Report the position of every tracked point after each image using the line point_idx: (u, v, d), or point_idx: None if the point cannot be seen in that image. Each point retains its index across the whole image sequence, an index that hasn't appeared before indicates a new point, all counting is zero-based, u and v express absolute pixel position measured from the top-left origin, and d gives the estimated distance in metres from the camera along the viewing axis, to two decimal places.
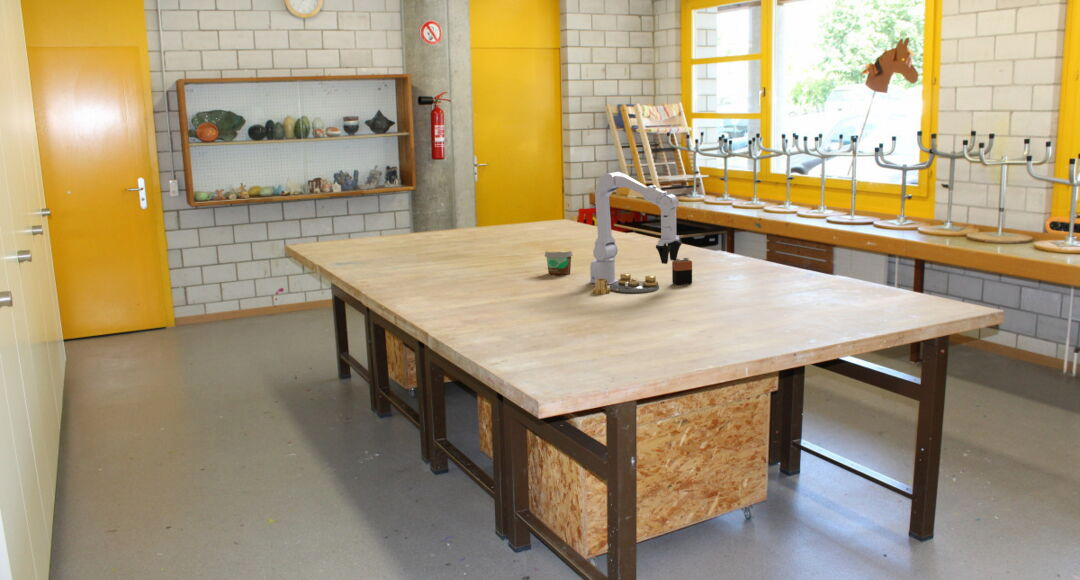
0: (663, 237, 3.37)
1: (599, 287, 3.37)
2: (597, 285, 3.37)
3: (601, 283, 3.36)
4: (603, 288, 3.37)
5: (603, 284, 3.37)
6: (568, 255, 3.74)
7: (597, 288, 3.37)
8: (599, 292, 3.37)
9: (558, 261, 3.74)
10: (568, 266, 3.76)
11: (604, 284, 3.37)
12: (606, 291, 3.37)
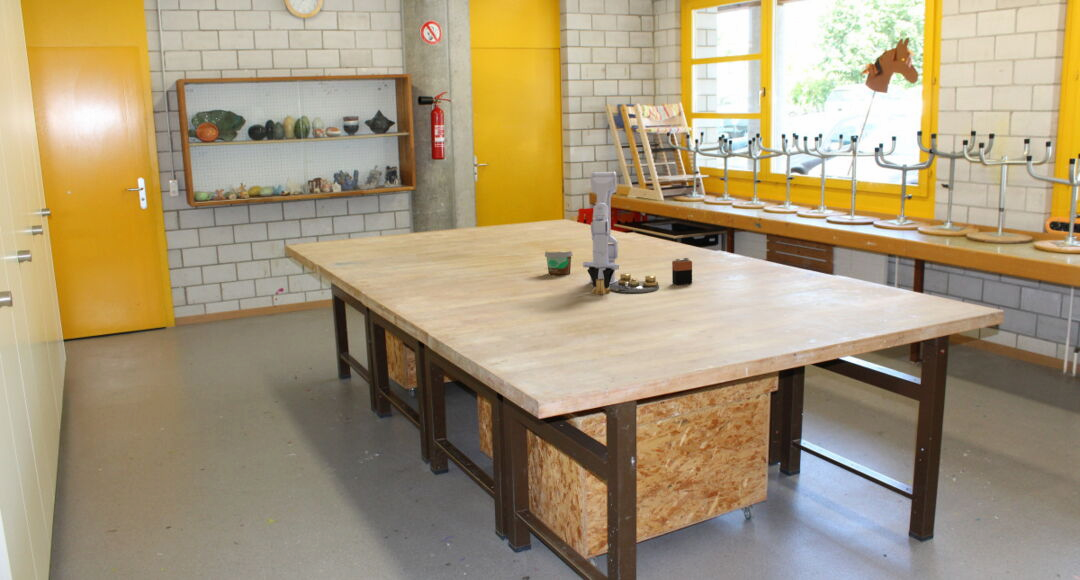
0: None
1: (599, 287, 3.37)
2: (597, 285, 3.37)
3: (601, 283, 3.36)
4: (603, 288, 3.37)
5: (603, 284, 3.37)
6: (568, 255, 3.74)
7: (597, 288, 3.37)
8: (599, 292, 3.37)
9: (558, 261, 3.74)
10: (568, 266, 3.76)
11: None
12: (606, 291, 3.37)
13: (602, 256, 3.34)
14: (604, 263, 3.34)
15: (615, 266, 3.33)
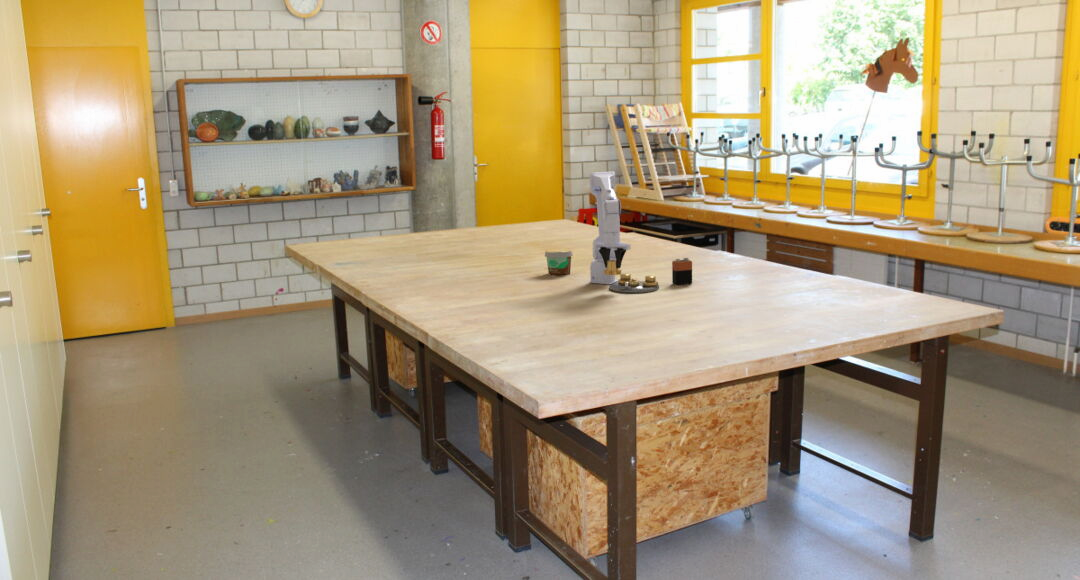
0: None
1: (610, 268, 3.35)
2: (608, 266, 3.36)
3: (612, 264, 3.35)
4: (614, 269, 3.35)
5: (614, 265, 3.35)
6: (568, 255, 3.74)
7: (608, 269, 3.36)
8: (610, 273, 3.35)
9: (558, 261, 3.74)
10: (568, 266, 3.76)
11: (615, 265, 3.35)
12: (617, 272, 3.35)
13: (613, 236, 3.32)
14: (616, 243, 3.33)
15: (627, 246, 3.31)
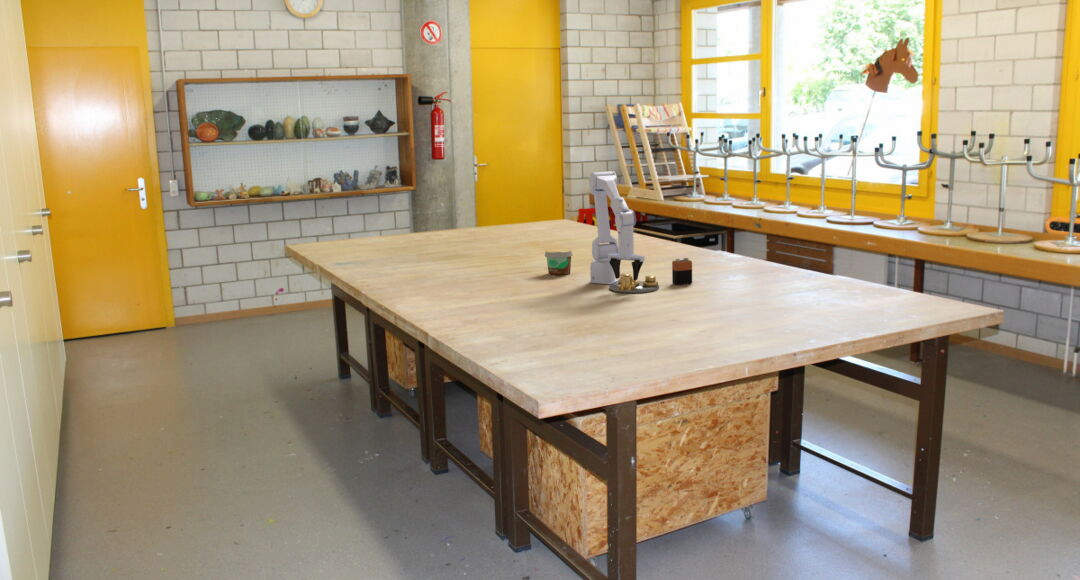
0: None
1: (624, 284, 3.36)
2: (622, 282, 3.37)
3: (626, 280, 3.36)
4: (628, 285, 3.36)
5: (628, 281, 3.36)
6: (568, 255, 3.74)
7: (622, 285, 3.37)
8: (624, 289, 3.36)
9: (558, 261, 3.74)
10: (568, 266, 3.76)
11: (629, 281, 3.36)
12: (631, 288, 3.36)
13: (627, 248, 3.33)
14: (629, 255, 3.34)
15: (641, 258, 3.32)
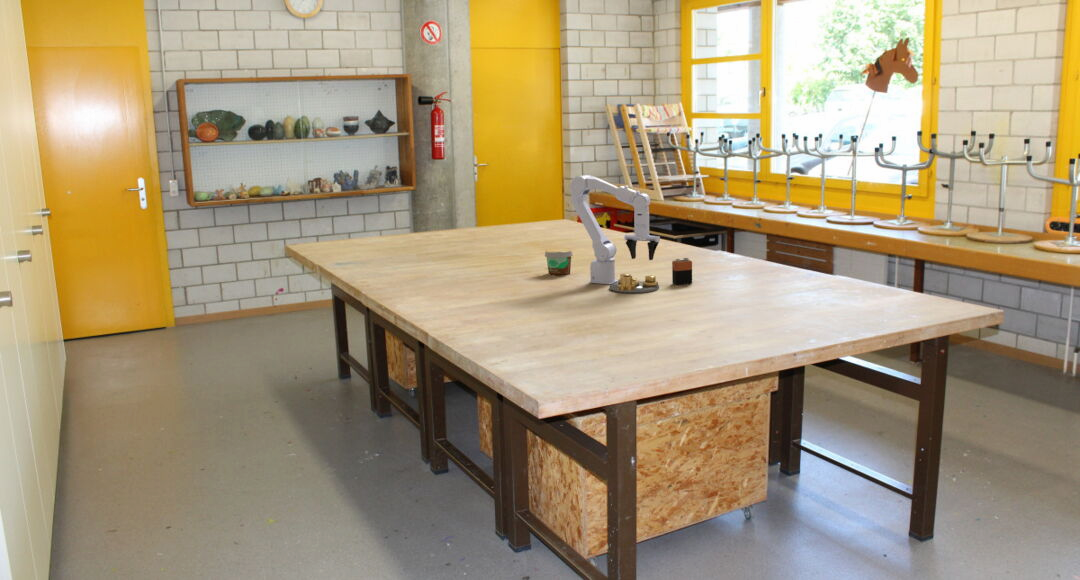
0: None
1: (624, 284, 3.36)
2: (622, 282, 3.37)
3: (626, 280, 3.36)
4: (628, 285, 3.36)
5: (628, 281, 3.36)
6: (568, 255, 3.74)
7: (622, 285, 3.37)
8: (624, 289, 3.36)
9: (558, 261, 3.74)
10: (568, 266, 3.76)
11: (629, 281, 3.36)
12: (631, 288, 3.36)
13: (643, 229, 3.45)
14: (645, 235, 3.46)
15: (656, 238, 3.44)
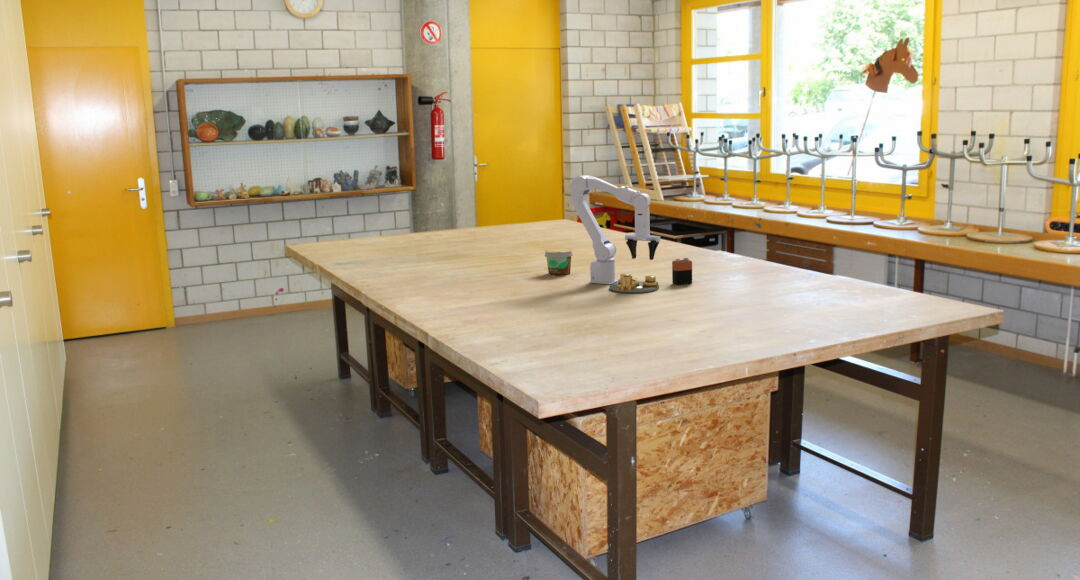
0: None
1: (624, 284, 3.36)
2: (622, 282, 3.37)
3: (626, 280, 3.36)
4: (628, 285, 3.36)
5: (628, 281, 3.36)
6: (568, 255, 3.74)
7: (622, 285, 3.37)
8: (624, 289, 3.36)
9: (558, 261, 3.74)
10: (568, 266, 3.76)
11: (629, 281, 3.36)
12: (631, 288, 3.36)
13: (644, 228, 3.45)
14: (646, 235, 3.46)
15: (657, 238, 3.44)
